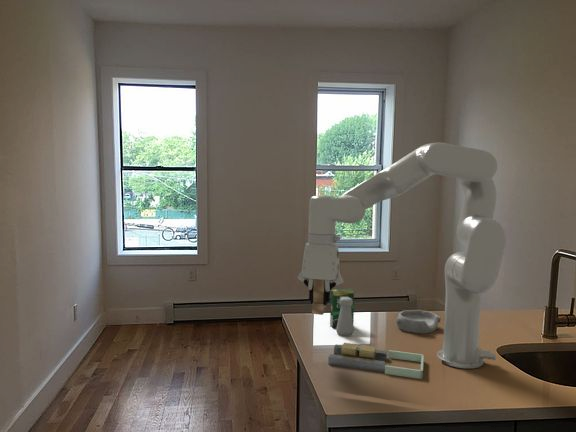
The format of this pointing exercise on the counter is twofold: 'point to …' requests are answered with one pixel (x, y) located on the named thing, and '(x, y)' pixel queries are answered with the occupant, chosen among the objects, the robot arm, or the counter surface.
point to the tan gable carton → (318, 297)
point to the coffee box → (336, 306)
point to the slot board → (358, 360)
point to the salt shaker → (345, 318)
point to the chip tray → (405, 371)
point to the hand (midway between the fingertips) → (319, 302)
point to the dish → (417, 321)
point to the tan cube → (349, 350)
